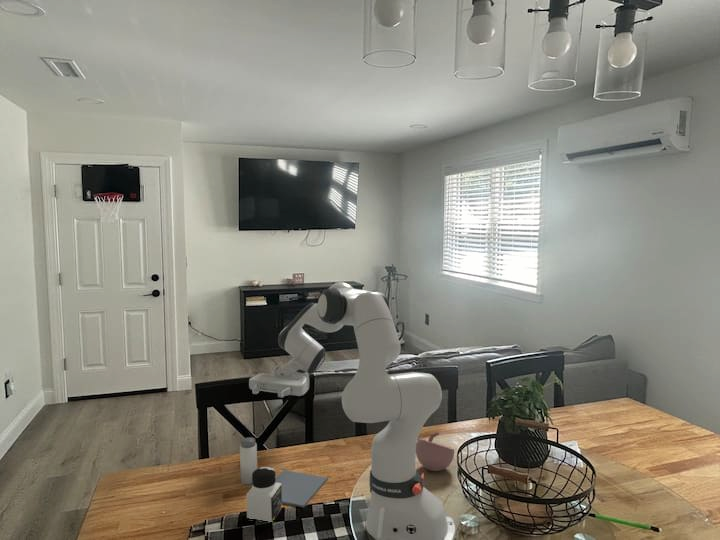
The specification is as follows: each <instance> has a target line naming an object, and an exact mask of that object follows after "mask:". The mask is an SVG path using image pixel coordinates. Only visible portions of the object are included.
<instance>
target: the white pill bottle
mask: <svg viewBox="0 0 720 540" xmlns="http://www.w3.org/2000/svg"><path fill="white" fill-rule="evenodd" d="M239 459H240V460H239V462H240V464H239V465H240V483H241V484H243V485H252V473H253V472H254V471H255V470H256V469H258V443H257V442H256V438H255V437H252V436H249V437H244V438H242V439H241V440H240V444H239Z"/></svg>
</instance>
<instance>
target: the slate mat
mask: <svg viewBox="0 0 720 540" xmlns="http://www.w3.org/2000/svg"><path fill="white" fill-rule="evenodd" d="M275 480H276V483H281V491H282V505H289V506H293V507H297V508H298V507H299V508H305V507H306V506H307V505H308V504H309V502H310V501H311V500H312V499H313V497H314V496H316V494H317V493H318V491H319V490H320V489H321V488H322V487H323V486H324V484H325V483H326V482H327V481H328V480H329V479H328V477H325V476H321V475H314V474H308V473H305V472H304V473H303V472H299V471H298V472H297V471H293V470H287V469H283V470H282V471H281V472H280V473H279V474H278V475H276V476H275Z"/></svg>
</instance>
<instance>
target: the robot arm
mask: <svg viewBox="0 0 720 540" xmlns="http://www.w3.org/2000/svg"><path fill="white" fill-rule="evenodd" d="M317 299H318V300H317V303H315V302H311V303H309V304H307V305H306V306H305V307H303V309H301V311H300V312H298V313H297V315H296V316H295V317H294V319H292V320H291V321H290V323H289V324H288V325H287V326H285V327H284V328H283V329H282V330H281V331H280V333H279V334H278V337H277V343H278V347H280V348H281V349H282V350H284V351H285V352H286V353H288V354H289V355H290V356H291V357H292V359H290V360H288V362H286V363H285V364H283V365H281V366H280V367H279V368H278V369H276V370H275V371H274V373H268V372H267V373H266V372H262V373H261V372H260V373H258V374H256V375H254V376H252V377H250V378H249V380H248V388H249V389H250V390H251V391H252V394H253V395H257V394H259V393H260V392H261V391H262V392H268V393H274V394H277V398H284V397H286V396H297V397H301V396H304V395H305V394H306V393H307V392H308V391H309V389H310V375H312V374H314V373H315V372H316V371H317V370H318V369H319V368H320V367H321V366H322V364H323V363H324V362H325V359H326V349H325V348H324V346H323V345H321V344H320V343H319V342H318V341H317V340H315V338H313V337H312V336H310V335H309V333H307V332H306V331H305V330H304V329H303V327H304V325H308V326H311V327H312V328H315V329H317V330H318V331H320V332H323V333H334V332H337V331H339V330H341V329H342V328H343V327H344V326H352V327H353V330H354V331H353V332H354V335H355V340H356V344H357V350H358V358H359V360H358V361H359V363H358V364H359V365H358V367H357V370H356V371H355V374H354V376H353V378H352V379H351V380H350V381H349V382H347V384H346V386H345V387H344V389H343V390H342V391H343V392H342V396H341V404H342V405H341V406H342V409H343V411H344V414H345V415H346V417H347V418H348V419H349V420H350V421H351V422H353V423H363V424H374V423H381V422H388V424H387V425H386V426H385V427H384V428H383V429H382V430H381V431H379V432H378V433H377V434H376V435H375V436H374V438H373V439H372V442H371V445H370V450H371V451H370V453H371V454H370V455H371V456H370V457H371V459H370V460H371V462H370V464H371V468H370V469H371V470H370V471H369V477H368V478H369V479H368V482H369V484H368V485H369V492H370V501H369V507H368V508H369V509H368V514H367V518H366V521H365V529H366V531H367V533H368V535H370V536H371V537H372V538H373V539H374V540H455V538H456V532H457V530H456V523H455V521H454V520H453V518H452V517H450V516H448V515H447V514H446V508H445V506H444V503H443V502H442V500H441V499H440V498H439V497H437V496H436V495H434V494H433V493H432V492H430V490H428V489H427V488H426V487H425V486H424V479H425V478H424V477H425V475H424V472H422V473H421V475H420V474H419V473H418V472H417V470H416V457H417V455H416V444H417V441H418V439H419V436H420V433H421V432H422V430H423V427H424V425H425V424H426V422H427V420H428V419H429V418H430V417H431V416H432V415H433V414H434V412H436V411H437V410H438V409H439V407H440V406H441V403H442V398H443V392H442V386H441V384H440V383H439V381H438V379H437V378H436V377H435V376H434V375H433V374H431V373H426V372H418V371H416V372H415V371H410V372H401V373H390V374H389V373H388V372H387V367H388V366H390V365H391V364H393V362H395V361H396V360H397V359H398V357H399V356H400V354H401V350H402V349H401V348H402V345H401V343H400V339H399V335H398V333H397V328H396V325H395V322H394V319H393V315H392V314H391V311H390V310H391V309H390V303H389V302H390V301H389V300H388V298H387V296H386V295H385V294H384V293H383V292H380V291H377V290H371V291H370V290H367V289H358V288H354V287H353V286H352V285H350V284H349V283H348V282H347V283H346V282H344V281H337V282H334V283H333V284H332V285H331V286H329V288H326V289H324V290H322V292H321V293H320V295H319V297H318V298H317Z"/></svg>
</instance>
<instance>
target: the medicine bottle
mask: <svg viewBox="0 0 720 540" xmlns="http://www.w3.org/2000/svg"><path fill="white" fill-rule="evenodd" d="M275 478H276V470H275V469H274V468H273V467H270V466H269V467H268V466H262V467H259V468H258V467H257V469H256V470H255V471H254V472H253V473H252V484H251V485H252V486H251V488H250V489H249V491H247V493H246V499H245V500H246V519H247V518H249V519H258V520H263V521H268V522H267V523H270V522H272V523H273V522H274V521H275V519H276V518H277V516H278V515H279V513H280V511H281V510H282V508H283V503H282V491H281V483H276V480H275ZM276 515H277V516H276ZM275 517H276V518H275ZM273 520H274V521H273Z"/></svg>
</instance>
